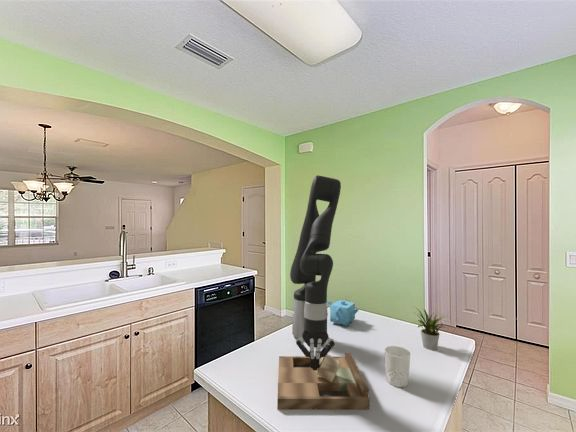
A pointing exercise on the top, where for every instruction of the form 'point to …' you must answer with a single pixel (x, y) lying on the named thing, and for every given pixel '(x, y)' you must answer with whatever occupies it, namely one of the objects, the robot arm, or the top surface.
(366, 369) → the top surface
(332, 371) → the birch block
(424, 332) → the house plant
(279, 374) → the box
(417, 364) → the top surface
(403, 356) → the white cup
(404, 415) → the top surface
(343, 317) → the teapot
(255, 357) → the top surface
